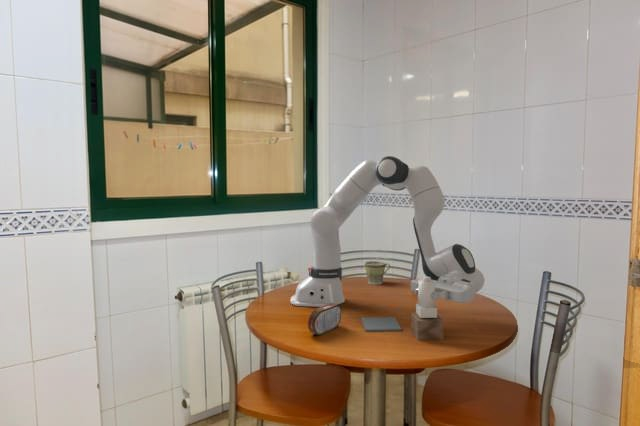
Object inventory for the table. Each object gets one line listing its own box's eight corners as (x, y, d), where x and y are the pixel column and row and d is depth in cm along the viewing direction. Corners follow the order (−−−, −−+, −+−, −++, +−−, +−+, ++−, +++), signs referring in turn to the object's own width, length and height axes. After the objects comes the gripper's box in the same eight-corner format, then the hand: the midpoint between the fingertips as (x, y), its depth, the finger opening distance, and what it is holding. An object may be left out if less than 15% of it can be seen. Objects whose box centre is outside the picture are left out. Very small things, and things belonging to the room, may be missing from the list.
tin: (335, 324, 141) (335, 300, 140) (343, 326, 139) (343, 301, 138) (307, 336, 129) (307, 310, 129) (314, 339, 127) (314, 312, 127)
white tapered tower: (420, 317, 127) (420, 279, 126) (416, 312, 132) (416, 275, 131) (436, 317, 127) (437, 279, 126) (432, 312, 132) (432, 275, 131)
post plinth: (417, 339, 126) (417, 311, 125) (411, 330, 134) (411, 303, 133) (443, 339, 126) (443, 311, 125) (435, 330, 134) (435, 303, 133)
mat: (365, 331, 133) (365, 329, 133) (361, 319, 145) (361, 317, 145) (402, 330, 134) (402, 329, 134) (394, 318, 146) (394, 317, 146)
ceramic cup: (369, 286, 193) (369, 265, 192) (361, 281, 203) (361, 261, 202) (394, 284, 197) (394, 263, 196) (385, 279, 206) (385, 260, 205)
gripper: (425, 272, 145) (399, 278, 136) (478, 283, 129) (453, 290, 120) (425, 289, 145) (399, 296, 137) (478, 302, 129) (452, 311, 121)
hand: (424, 293), depth 129 cm, fingers closed on white tapered tower, 5 cm apart
